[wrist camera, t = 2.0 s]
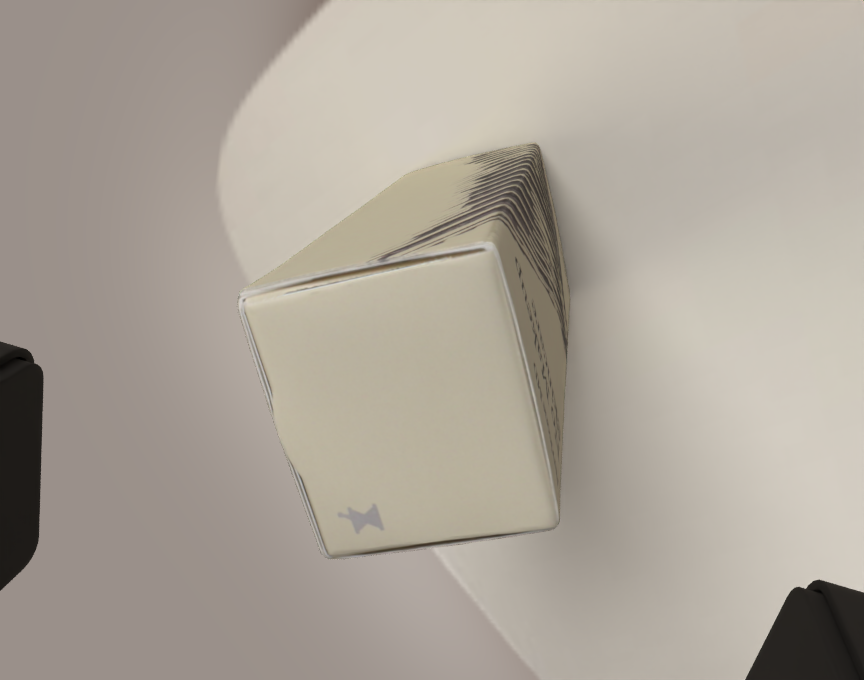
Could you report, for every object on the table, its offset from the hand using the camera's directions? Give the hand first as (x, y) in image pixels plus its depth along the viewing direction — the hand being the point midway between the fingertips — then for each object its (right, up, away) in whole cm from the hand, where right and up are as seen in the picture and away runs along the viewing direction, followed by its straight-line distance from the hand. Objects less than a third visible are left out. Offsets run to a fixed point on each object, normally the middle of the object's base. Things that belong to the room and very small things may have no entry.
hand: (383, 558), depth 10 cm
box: (+2, +6, +15) cm, 16 cm away
